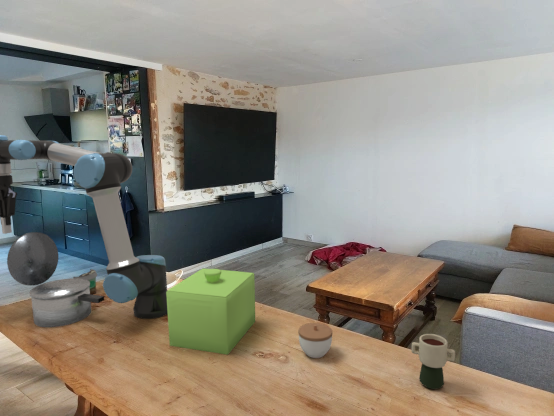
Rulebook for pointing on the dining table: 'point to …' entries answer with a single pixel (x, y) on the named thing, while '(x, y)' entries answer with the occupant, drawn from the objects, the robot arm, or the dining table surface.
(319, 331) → the lidded jar
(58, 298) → the cooker pot
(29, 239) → the cooker lid
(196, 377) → the dining table surface
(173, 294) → the canister
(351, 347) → the dining table surface
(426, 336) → the character mug
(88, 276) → the food container
